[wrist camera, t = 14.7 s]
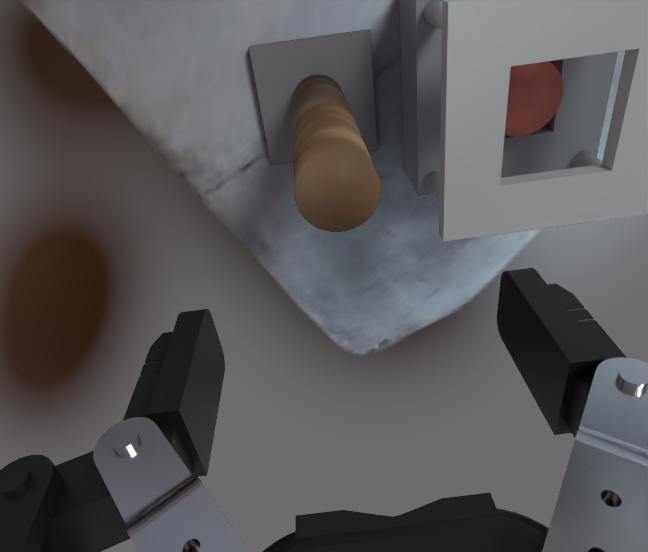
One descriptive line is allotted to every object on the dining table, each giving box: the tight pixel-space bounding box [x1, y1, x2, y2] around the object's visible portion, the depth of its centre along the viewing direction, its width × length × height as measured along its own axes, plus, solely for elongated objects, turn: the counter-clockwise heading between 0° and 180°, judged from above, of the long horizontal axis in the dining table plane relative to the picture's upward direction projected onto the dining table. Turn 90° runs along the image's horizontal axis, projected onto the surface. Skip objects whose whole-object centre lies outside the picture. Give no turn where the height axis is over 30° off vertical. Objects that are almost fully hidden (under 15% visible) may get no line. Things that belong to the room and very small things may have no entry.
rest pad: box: [249, 29, 378, 165], centre depth 34 cm, size 8×8×1 cm
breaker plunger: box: [505, 61, 563, 137], centre depth 30 cm, size 4×4×5 cm
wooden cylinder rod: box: [292, 74, 381, 232], centre depth 27 cm, size 4×4×16 cm
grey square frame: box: [399, 0, 648, 242], centre depth 29 cm, size 12×12×12 cm
